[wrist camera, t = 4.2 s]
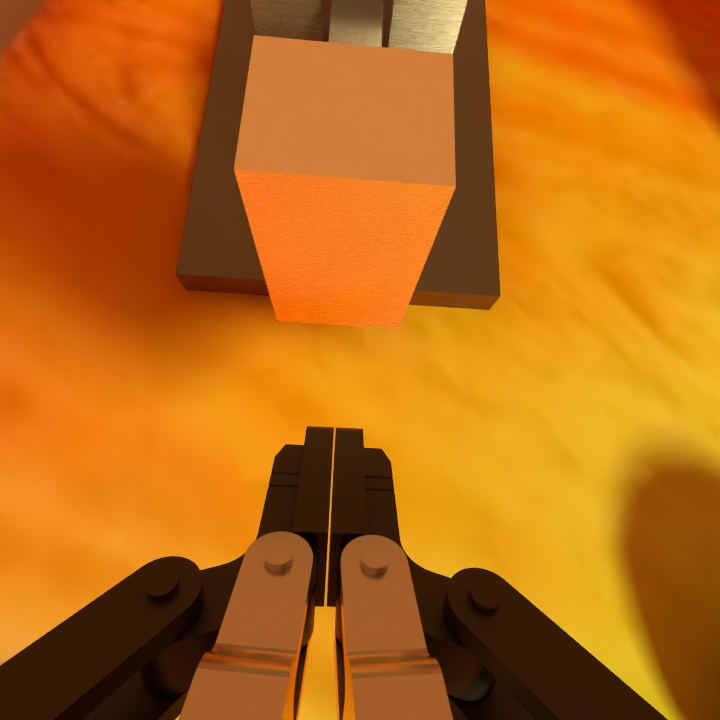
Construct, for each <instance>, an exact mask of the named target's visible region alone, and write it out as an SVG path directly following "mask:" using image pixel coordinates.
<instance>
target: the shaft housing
mask: <svg viewBox="0 0 720 720" xmlns="http://www.w3.org/2000/svg"><path fill="white" fill-rule="evenodd" d="M331 7H332V0H225V3H224V9H223V14H222V20H221V25H220V31H219V36H218V42H217V47H216V53H215V59H214V64H213V70H212V75H211V81H210V86H209V92H208V97H207V103H206V109H205V114H204V120H203V125H202V131H201V136H200V142H199V147H198V153H197V159H196V164H195V170H194V175H193V181H192V186H191V192H190V197H189V203H188V209H187V214H186V220H185V225H184V231H183V236H182V242H181V247H180V253H179V259H178V264H177V270H176V275H177V277H178V278H179V280H180V281H181V283H182V284H183V286H184V287H185V289H186V290H200V291H215V292H230V293H245V294H260V295H269V291H268V288H267V284H266V281H265V277H264V274H263V270H262V267H261V263H260V260H259V256H258V253H257V249H256V246H255V242H254V239H253V235H252V232H251V228H250V224H249V221H248V217H247V214H246V210H245V207H244V203H243V200H242V196H241V193H240V189H239V186H238V182H237V179H236V175H235V172H234V164H235V158H236V151H237V144H238V138H239V131H240V124H241V118H242V111H243V104H244V98H245V91H246V84H247V78H248V71H249V64H250V58H251V51H252V44H253V37H254V35H257V36H268V37H278V38H289V39H300V40H310V41H321V42H329V31H330V19H331ZM382 47H385V48H396V49H407V50H418V51H428V52H439V53H450V54H453V83H454V129H455V174H456V188H455V190H454V192H453V195H452V197H451V200H450V202H449V205H448V207H447V210H446V212H445V215H444V217H443V220H442V222H441V225H440V227H439V230H438V232H437V235H436V237H435V240H434V242H433V245H432V247H431V250H430V252H429V255H428V257H427V260H426V262H425V265H424V267H423V270H422V272H421V275H420V277H419V280H418V282H417V285H416V287H415V290H414V292H413V295H412V297H411V300H410V302H409V304H411V305H426V306H441V307H456V308H471V309H486V310H489V309H490V308H491V307H492V306H493V304H494V303H495V302H496V301H497V299H498V298H499V297H500V280H499V261H498V242H497V222H496V203H495V184H494V164H493V145H492V125H491V106H490V87H489V67H488V48H487V29H486V9H485V0H383V22H382Z"/></svg>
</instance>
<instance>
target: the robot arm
mask: <svg viewBox="0 0 720 720" xmlns="http://www.w3.org/2000/svg"><path fill="white" fill-rule="evenodd" d="M333 431H334V428H332V427H311V426H307V429H306V436H305V443H304V445H287V444H286V445H285V446H284V447H283V448H282V449H281V451H280V452H279V453H278V454H277V455H276V456H275V459H274V464H273V468H272V474H271V477H270V482H269V487H268V491H267V495H266V500H265V504H264V509H263V513H262V518H261V522H260V527H259V532H258V535H257V538H256V540H255V541H254V542H253V543H252V544H251V545H250V546H249V548H248V549H247V551H246V553H245V554H243V555H242V556H241V557H239V558H238V559H236V560H234V561H232V562H229V563H227V564H223V565H220V566H216V567H212V568H208V569H204V570H199V568H198V566H197V565H196V564H195V563H194V562H192V561H191V560H189V559H186V558H183V557H176V556H171V557H164V558H160V559H157V560H154V561H152V562H149V563H147V564H146V565H144V566H143V567H141V568H140V569H138V570H137V571H135V572H134V573H132V574H131V575H130V576H128V577H127V578H125V579H124V580H122V581H121V582H120V583H118V584H117V585H115V586H114V587H112V588H111V589H110V590H108V591H107V592H105V593H104V594H102V595H101V596H99V597H98V598H97V599H95V600H94V601H92V602H91V603H89V604H88V605H87V606H85V607H84V608H82V609H81V610H79V611H78V612H77V613H75V614H74V615H72V616H71V617H69V618H68V619H67V620H65V621H64V622H62V623H61V624H59V625H58V626H56V627H55V628H54V629H52V630H51V631H49V632H48V633H46V634H45V635H44V636H42V637H41V638H39V639H38V640H36V641H35V642H34V643H32V644H31V645H29V646H28V647H26V648H25V649H24V650H22V651H21V652H19V653H18V654H16V655H15V656H13V657H12V658H11V659H9V660H8V661H6V662H5V663H3V664H2V665H1V666H0V720H175V719H176V718H177V717H178V716H179V715H180V717H179V720H298V717H299V711H300V704H301V698H302V691H303V684H304V678H305V671H306V665H307V658H308V652H309V645H310V638H311V635H312V633H313V627H314V613H315V606H323V607H324V595H325V578H326V561H327V544H328V526H329V507H330V488H331V469H332V450H333ZM392 478H393V477H392V468H391V462H390V460H389V459H388V457H387V456H386V455H385V453H384V452H383V450H382V449H376V448H364V445H363V429H354V428H336V437H335V453H334V470H333V488H332V508H331V529H330V550H329V571H328V592H327V606H330V607H336V620H335V637H334V654H335V677H336V699H337V720H667V719H666V718H665V717H664V716H663V715H662V714H660V713H659V712H658V711H657V710H656V709H655V708H653V707H652V706H651V705H650V704H649V703H648V702H646V701H645V700H644V699H643V698H642V697H641V696H639V695H638V694H637V693H636V692H635V691H634V690H632V689H631V688H630V687H629V686H628V685H627V684H625V683H624V682H623V681H622V680H621V679H620V678H618V677H617V676H616V675H615V674H614V673H613V672H611V671H610V670H609V669H608V668H607V667H606V666H604V665H603V664H602V663H601V662H600V661H599V660H597V659H596V658H595V657H594V656H593V655H592V654H590V653H589V652H588V651H587V650H586V649H585V648H583V647H582V646H581V645H580V644H579V643H578V642H576V641H575V640H574V639H573V638H572V637H571V636H569V635H568V634H567V633H566V632H565V631H564V630H562V629H561V628H560V627H559V626H558V625H557V624H555V623H554V622H553V621H552V620H551V619H550V618H548V617H547V616H546V615H545V614H544V613H543V612H541V611H540V610H539V609H538V608H537V607H536V606H534V605H533V604H532V603H531V602H530V601H529V600H527V599H526V598H525V597H524V596H523V595H522V594H520V593H519V592H518V591H517V590H516V589H515V588H513V587H512V586H511V585H510V584H509V583H508V582H506V581H505V580H504V579H503V578H501V577H500V576H498V575H497V574H495V573H493V572H491V571H488V570H485V569H481V568H467V569H463V570H461V571H459V572H457V573H456V574H455V575H454V576H453V577H452V578H449V577H446V576H443V575H440V574H437V573H434V572H431V571H428V570H426V569H424V568H422V567H420V566H419V565H417V564H416V563H415V562H413V561H412V560H411V559H410V558H409V557H408V555H407V554H406V553H405V551H404V550H403V548H402V545H401V542H400V536H399V528H398V519H397V511H396V502H395V494H394V485H393V480H392Z"/></svg>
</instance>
